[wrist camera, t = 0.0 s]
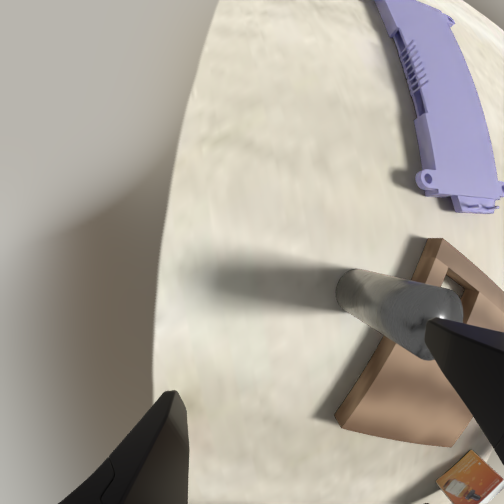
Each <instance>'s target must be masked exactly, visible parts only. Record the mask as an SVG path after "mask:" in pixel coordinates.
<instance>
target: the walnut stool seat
mask: <svg viewBox="0 0 504 504" xmlns="http://www.w3.org/2000/svg"><path fill="white" fill-rule="evenodd" d="M445 275H447V276H449V277H450V278H452V279H453V280H454V281H456V282H457V283H458V284H459V285H461V286H462V287H463V288H465V290H464V293H463V295H462V298H461V303H462V306H463V323H465V324H469V325H473V326H478V327H482V328H487V329H491V330H496V331H500V332H504V292H503V291H502V290H501V289H500V288H499V287H498V286H497V285H496V284H495V283H494V282H493V281H492V280H491V279H490V278H489V277H488V276H487V275H486V274H484V273H483V272H482V271H481V270H480V269H479V268H478V267H477V266H475V265H474V264H473V263H472V262H471V261H470V260H469V259H467V258H466V257H465V256H464V255H463V254H462V253H460V252H459V251H458V250H457V249H456V248H454V247H453V246H452V245H451V244H449V243H448V242H447V241H446V240H444V239H443V238H428V239H427V242H426V245H425V247H424V250H423V253H422V255H421V258H420V260H419V262H418V265H417V267H416V270H415V272H414V274H413V277H412V279H411V281H416V282H420V283H424V284H429V285H433V286H438V287H441V285H442V283H443V280H444V278H445ZM334 416H335V418H336V419H337V421H338V423H339V425H340V426H341V428H343V429H347V430H351V431H355V432H359V433H363V434H368V435H372V436H377V437H382V438H387V439H393V440H398V441H404V442H410V443H417V444H424V445H432V446H442V447H452V446H453V445H454V443H455V442H456V441H457V439H458V438H459V437H460V435H461V434H462V432H463V431H464V429H465V428H466V427H467V425H468V424H469V422H470V421H471V419H472V418H473V415H472V414H471V412H470V411H469V409H468V408H467V407H466V405H465V404H464V402H463V401H462V399H461V398H460V397H459V395H458V394H457V392H456V391H455V389H454V388H453V387H452V385H451V384H450V383H449V381H448V380H447V378H446V377H445V376H444V374H443V373H442V371H441V369H440V368H439V366H438V364H437V363H436V361H435V360H431V361H426V360H422V359H420V358H419V357H417V356H415V355H414V354H412V353H411V352H409V351H408V350H406V349H404V348H403V347H401V346H400V345H398V344H397V343H395V342H394V341H392V340H390V339H389V338H387V337H386V336H383V338H382V340H381V342H380V343H379V345H378V347H377V349H376V350H375V352H374V354H373V356H372V357H371V359H370V361H369V362H368V364H367V366H366V367H365V369H364V371H363V372H362V374H361V376H360V377H359V379H358V380H357V382H356V383H355V385H354V387H353V388H352V390H351V391H350V393H349V394H348V396H347V397H346V399H345V400H344V402H343V403H342V404H341V406H340V407H339V409H338V410H337V412H336V413H335V414H334Z"/></svg>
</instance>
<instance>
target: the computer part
mask: <svg viewBox="0 0 504 504" xmlns="http://www.w3.org/2000/svg"><path fill="white" fill-rule="evenodd" d="M374 1H375V4H376V6H377V8H378V10H379V13H380V15H381V17H382V20H383V22H384V25H385V27H386V30H387V32H388V35H389V37H390V38H392V37H393V38H394V41H395V44H396V47H397V49H398V52H399V54H398V55H399V58H401V59H400V61H401V63H402V67H403V68H404V73H405V74H406V75H405V77H406V79H407V84H408V85H409V91H411V92H410V95H411V97H412V98H413V102H414V106H415V111H416V115H417V118H416V119H415V120H414V124H415V129H416V134H417V140H418V145H419V151H420V158H421V164H422V171H420V172H418V173H417V174H416V178H415V179H416V183H417V185H418V187H419V188H421V189H423V190H425V196H427V197H442V198H443V197H448V196H451V199H452V202H453V206H454V209H455V212H459V213H480V214H492V213H494V209H499V206H495V200H500V197H504V182H502V181H498V178H497V172H496V166H495V160H494V155H493V150H492V145H491V140H490V136H489V132H488V128H487V124H486V120H485V117H484V113H483V110H482V106H481V103H480V100H479V97H478V93H477V91H476V88H475V85H474V82H473V79H472V76H471V74H470V71H469V69H468V66H467V64H466V61H465V59H464V56H463V54H462V52H461V50H460V47H459V45H458V43H457V41H456V39H455V37H454V35H453V33H452V31H451V29H450V27H452V26H453V25H454V24H455V22H454V20H453V19H452V18H451V17H450V16H448V15H446V14H444V13H442V12H441V11H440V10H438V9H436V8H433V7H431V6H429V5H426V4H424V3H421V2H419V1H416V0H374Z"/></svg>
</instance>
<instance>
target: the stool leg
mask: <svg viewBox="0 0 504 504" xmlns="http://www.w3.org/2000/svg"><path fill="white" fill-rule="evenodd" d="M336 298H337V301H338V304H339V305H340V307H341V308H342V309H344V310H345V311H347V312H348V313H350V314H351V315H353V316H354V317H356V318H358V319H359V320H361V321H362V322H364V323H365V324H367V325H368V326H370V327H372V328H373V329H375V330H376V331H378V332H379V333H381V334H383V335H384V336H386V337H387V338H389V339H390V340H392V341H394V342H395V343H397V344H398V345H400V346H401V347H403V348H404V349H406V350H408V351H409V352H411V353H412V354H414V355H415V356H417V357H419V358H420V359H422V360H426V361H431V360H435V359H434V358H433V356H432V354H431V353H430V351H429V349H428V348H427V346H426V344H425V340H424V337H425V329H426V323H427V321H428V320H430V319H432V318H434V317H439V318H443V319H448V320H452V321H456V322H460V323H463V306H462V303H461V300H460V298H459V296H458V295H457V294H456V293H455V292H454V291H452V290H450V289H446V288H442V287H438V286H433V285H429V284H424V283H420V282H416V281H411V280H407V279H402V278H398V277H394V276H389V275H385V274H380V273H376V272H371V271H367V270H362V269H353V270H350V271H348V272H347V273H345V274H344V275H343V276H342V277H341V279H340V280H339V282H338V284H337V288H336Z"/></svg>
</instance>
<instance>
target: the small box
mask: <svg viewBox="0 0 504 504" xmlns="http://www.w3.org/2000/svg"><path fill="white" fill-rule="evenodd" d="M436 483H437V485H438V486H439V487H440V489H441V490H442V491H443V492H444V494H445V495H446V496H447V497H448V499H449V500H450V501H451V502H452V503H453V504H487V503H489V502H490V501H491V500H492V499H493V498H494V497H495V496H496V495H497V494H498V493H499V492H500V491H501V490H502V489H503V488H504V479H503V478H502V477H501V476H500V475H499V474H498V473H497V472H496V471H495V470H493V469H492V468H491V467H490V466H489V465H488V464H487V463H486V462H485V461H484V460H483V459H482V458H480V457H479V456H478V455H477V454H476V453H475V452H474V451H473V450H472V449H471V450H470V451H469V452H468V453H467V454H466V455H465V456H464V457H463V458H462V459H461V460H460V461H459V462H458V463H456V464H455V465H454V466H453V467H452V468H451V469H450V470H448V471H447V472H446V473H445V474H444V475H442V476H441V477H440V478H438V479H437V480H436Z"/></svg>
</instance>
